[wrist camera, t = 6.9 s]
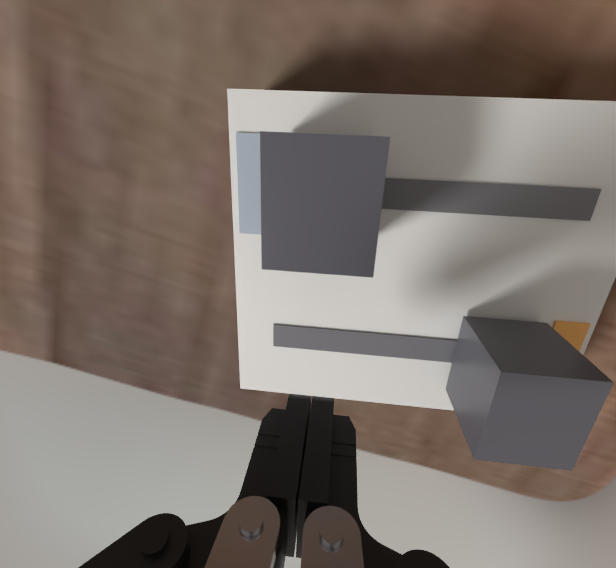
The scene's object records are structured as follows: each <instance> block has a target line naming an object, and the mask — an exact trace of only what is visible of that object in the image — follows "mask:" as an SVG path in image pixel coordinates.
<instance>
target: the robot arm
mask: <svg viewBox="0 0 616 568" xmlns="http://www.w3.org/2000/svg"><path fill="white" fill-rule="evenodd" d="M333 407H334V398H327V397H317V396H313V397H312V404H311V396H307V395H297V394H289V398H288V402H287V406H286V410H284V409H275V408H272V409H271V410H270V411H269V412H268V414H267V415H266V416H265V417H264V418H263V419H262V422H261V426H260V429H259V432H258V436H257V439H256V443H255V447H254V449H253V453H252V456H251V459H250V462H249V466H248V469H247V473H246V476H245V479H244V482H243V486H242V489H241V492H240V495H239V497H238V499H237V501H236V502H235V504H234V505H232V507H231V508H230V509H229V510H228V511H227V512H226V513H225V514H223V515H222V516H220V517H218V518H216V519H213V520H210V521H205V522H201V523H196V524H191V525H187V526H186V525H185V523H184V522H183V520H182V519H181V518H179V517H178V516H176V515H173V514H169V513H164V514H158V515H155V516H152V517H150V518H148V519H146V520H145V521H143V522H142V523H140V524H139V525H138V526H136V527H135V528H133V529H132V530H131V531H129V532H128V533H126V534H125V535H124V536H122V537H121V538H119V539H118V540H117V541H115V542H114V543H112V544H111V545H110V546H108V547H107V548H105V549H104V550H103V551H101V552H100V553H98V554H97V555H96V556H94V557H93V558H91V559H90V560H89V561H87V562H86V563H84V564H83V565H82V566H80V567H79V568H284V562H285V556H290V557H293V556H294V550H295V542H296V535H297V548H296V549H297V551H296V557H298V558H301V568H449V567H448V566H447V565H446V564H445V562H443V561H442V560H441V559H440V558H439V557H437V556H436V555H434V554H432V553H430V552H428V551H424V550H411V551H408V552H406V553H405V554H403V555H401V554H399V553H397V552H396V551H394V550H391V549H390V548H388V547H386V546H384V545H382V544H380V543H379V542H377V541H376V540H375V539H373V538H372V537H371V536H370V535H369V534H368V532H367V531H366V530H365V529H364V527H363V525H362V523H361V521H360V518H359V514H358V507H357V467H356V430H355V428H354V426H353V424H352V422H351V420H350V418H349V416H340V415H333ZM310 409H311V411H310Z"/></svg>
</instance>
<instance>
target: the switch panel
mask: <svg viewBox="0 0 616 568" xmlns="http://www.w3.org/2000/svg"><path fill="white" fill-rule="evenodd" d="M227 96H228V119H229V141H230V164H231V187H232V209H233V232H234V255H235V277H236V300H237V323H238V345H239V368H240V388H242V389H251V390H261V391H271V392H280V393H290V394H300V395H309V396H319V397H328V398H338V399H348V400H357V401H367V402H377V403H386V404H396V405H406V406H415V407H425V408H435V409H444V410H454V409H453V406H452V404H451V401H450V399H449V396H448V394H447V391H446V385H447V381H448V377H449V373H450V369H451V365H452V361H453V356H454V352H455V348H456V344H457V340H458V336H459V332H460V328H461V324H462V319H463V316H470V317H483V318H495V319H507V320H519V321H531V322H544V323H548V324H549V325H550V326H551V327H552V328H553V329H554V330H556V331H557V332H558V333H559V334H560V335H561V336H562V337H563V338H564V339H566V340H567V341H568V342H569V343H570V344H571V345H572V346H573V347H575V348H576V349H577V350H578V351H579V352H580V353H581V354H582V355H584V352H585V350H586V347H587V345H588V343H589V340H590V338H591V335H592V333H593V331H594V328H595V326H596V323H597V321H598V319H599V316H600V314H601V311H602V309H603V307H604V304H605V302H606V299H607V297H608V295H609V292H610V290H611V287H612V285H613V282H614V280H615V278H616V101H594V100H563V99H532V98H501V97H470V96H439V95H408V94H377V93H346V92H315V91H284V90H253V89H227ZM260 131H267V132H291V133H314V134H338V135H362V136H386V137H390V144H389V152H388V160H387V168H386V176H385V184H384V193H383V201H382V209H381V217H380V225H379V233H378V242H377V250H376V258H375V266H374V274H373V278H372V277H358V276H345V275H332V274H318V273H305V272H291V271H278V270H265V269H262V255H261V174H260Z"/></svg>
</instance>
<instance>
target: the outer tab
mask: <svg viewBox="0 0 616 568" xmlns="http://www.w3.org/2000/svg"><path fill="white" fill-rule="evenodd" d="M613 383H614V382H612V381H611V380H610V379H609V378H608V377H607V376H606V375H605V374H604V373H602V372H601V371H600V370H599V369H598V368H597V367H596V366H595V365H593V364H592V363H591V362H590V361H589V360H588V359H587V358H586V357H585V356H583V355H582V354H581V353H580V352H579V351H578V350H577V349H576V348H575V347H573V346H572V345H571V344H570V343H569V342H568V341H567V340H566V339H564V338H563V337H562V336H561V335H560V334H559V333H558V332H557V331H556V330H554V329H553V328H552V327H551V326H550V325H549V324H548V323H544V322H531V321H519V320H507V319H495V318H483V317H470V316H463V319H462V324H461V328H460V332H459V336H458V340H457V344H456V348H455V352H454V356H453V361H452V365H451V369H450V373H449V377H448V381H447V385H446V391H447V394H448V396H449V399H450V401H451V404H452V406H453V409H454V411H455V414H456V416H457V419H458V421H459V424H460V426H461V429H462V431H463V434H464V436H465V439H466V441H467V444H468V446H469V448H470V451H471V453H472V456H473V458H474V459H476V460H484V461H493V462H502V463H511V464H519V465H528V466H537V467H546V468H554V469H563V470H572V469H573V467H574V465H575V463H576V461H577V459H578V456H579V454H580V452H581V450H582V448H583V446H584V444H585V442H586V440H587V437H588V435H589V433H590V431H591V429H592V427H593V425H594V423H595V421H596V418H597V416H598V414H599V412H600V410H601V408H602V406H603V404H604V402H605V399H606V397H607V395H608V393H609V391H610V389H611V387H612V385H613Z"/></svg>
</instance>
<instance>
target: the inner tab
mask: <svg viewBox="0 0 616 568" xmlns="http://www.w3.org/2000/svg"><path fill="white" fill-rule="evenodd" d="M389 144H390V137H386V136H362V135H338V134H314V133H291V132H267V131H260V174H261V255H262V269H265V270H278V271H291V272H305V273H318V274H332V275H345V276H358V277H372V278H373V274H374V266H375V258H376V250H377V242H378V233H379V225H380V217H381V209H382V201H383V193H384V184H385V176H386V168H387V160H388V152H389Z"/></svg>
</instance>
